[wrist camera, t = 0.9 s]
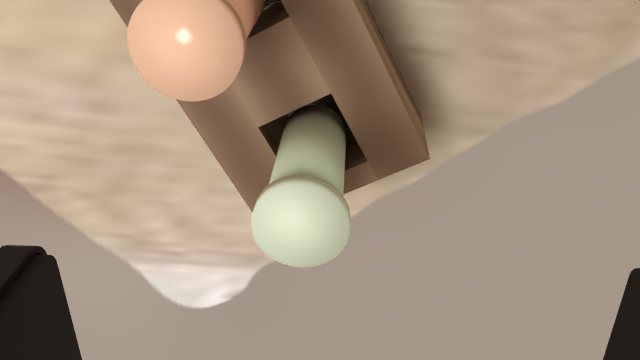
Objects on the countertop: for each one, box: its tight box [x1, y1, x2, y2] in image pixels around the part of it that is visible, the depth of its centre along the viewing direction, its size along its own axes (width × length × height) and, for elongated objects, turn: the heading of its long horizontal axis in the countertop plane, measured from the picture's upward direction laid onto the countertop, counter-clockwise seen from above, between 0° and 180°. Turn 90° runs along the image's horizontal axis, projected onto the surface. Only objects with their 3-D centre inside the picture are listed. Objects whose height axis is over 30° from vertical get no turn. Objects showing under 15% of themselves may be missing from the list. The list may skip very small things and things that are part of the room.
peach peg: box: [127, 0, 267, 101], centre depth 29 cm, size 5×5×10 cm
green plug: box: [251, 105, 350, 267], centre depth 33 cm, size 5×5×10 cm
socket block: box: [110, 0, 430, 212], centre depth 37 cm, size 12×18×6 cm, turn 28°
